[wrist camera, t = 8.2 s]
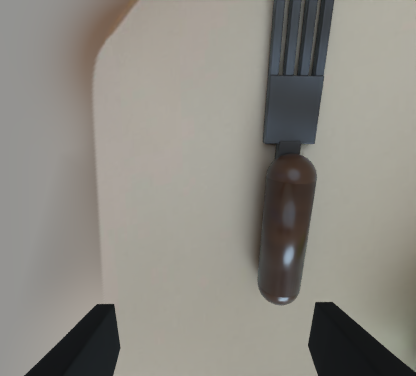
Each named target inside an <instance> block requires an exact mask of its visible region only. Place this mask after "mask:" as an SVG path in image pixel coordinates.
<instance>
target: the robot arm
mask: <svg viewBox="0 0 416 376" xmlns="http://www.w3.org/2000/svg"><path fill="white" fill-rule="evenodd" d="M308 347H309V350H310V353H311V356H312V359H313V362H314V365H315V368H316V371H317V374H318V376H416V373H415V372H414V371H413V370H412V369H411V368H409V367H408V366H407V365H406V364H404V363H403V362H402V361H401V360H400V359H398V358H397V357H396V356H395V355H394V354H392V353H391V352H390V351H389V350H388V349H386V348H385V347H384V346H383V345H382V344H381V343H379V342H378V341H377V340H376V339H375V338H374V337H372V336H371V335H370V334H369V333H368V332H367V331H365V330H364V329H363V328H362V327H361V326H360V325H359V324H357V323H356V322H355V321H354V320H353V319H352V318H350V317H349V316H348V315H347V314H346V313H345V312H344V311H342V310H341V309H340V308H339V307H338V306H336V305H335V304H334V303H333V302H316V303H315V308H314V314H313V320H312V326H311V331H310V337H309V343H308ZM119 351H120V342H119V335H118V328H117V321H116V314H115V307H114V304H97V305H96V306H95V307H94V308H93V309H92V310H90V312H89V313H88V314H87V315H85V317H84V318H83V319H82V320H81V321H80V322H79V323H78V324H77V325H76V326H75V327H74V328H73V329H72V330H71V331H70V332H69V333H68V334H67V335H66V336H65V337H64V338H63V339H62V340H61V341H60V342H59V343H58V344H57V345H56V346H55V347H54V348H52V349H51V351H49V352H48V353H47V354H46V355H45V356H44V357H43V358H42V359H41V360H40V361H39V362H38V363H37V364H36V365H35V366H34V367H33V368H32V369H31V370H30V371H29V372H28V373H27V374H26V375H24V376H113V374H114V370H115V366H116V363H117V359H118V355H119Z"/></svg>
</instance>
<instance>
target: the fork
mask: <svg viewBox="0 0 416 376" xmlns="http://www.w3.org/2000/svg"><path fill="white" fill-rule="evenodd" d="M317 3H318V0H306V2H305V11H304V19H303V28H302V37H301V46H300V55H299V64H298V73H297V76H293V75H294V65H295V56H296V47H297V37H298V28H299V19H300V9H301V0H290V3H289V14H288V25H287V35H286V46H285V56H284V67H283V75H278V74H279V63H280V52H281V41H282V30H283V19H284V8H285V0H274V5H273V18H272V31H271V44H270V57H269V70H268V83H267V96H266V108H265V121H264V134H263V142H264V143H266V144H276V153H275V160H274V161H273V162H272V163H271V165H270V166H269V168H268V171H267V176H266V187H265V199H264V211H263V222H262V234H261V246H260V257H259V269H258V287H259V290H260V292H261V294H262V295H263V297H264V298H265V299H266V300H267V301H269V302H271V303H273V304H276V305H286V304H289V303H291V302H293V301H294V300H295V299H296V297H297V296H298V294H299V291H300V286H301V279H302V272H303V266H304V259H305V253H306V246H307V240H308V233H309V226H310V220H311V213H312V207H313V200H314V194H315V187H316V180H317V174H316V169H315V167H314V165H313V164H312V162H311V161H310V160H309V159H308V158H306V157H304V156H302V155H300V147H301V144H314V143H315V137H316V130H317V123H318V116H319V109H320V102H321V95H322V88H323V81H324V76H323V75H324V69H325V62H326V55H327V47H328V40H329V33H330V26H331V19H332V12H333V5H334V0H321V7H320V15H319V23H318V31H317V38H316V46H315V54H314V62H313V70H312V76H308V75H309V67H310V59H311V51H312V43H313V35H314V27H315V19H316V11H317Z"/></svg>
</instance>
